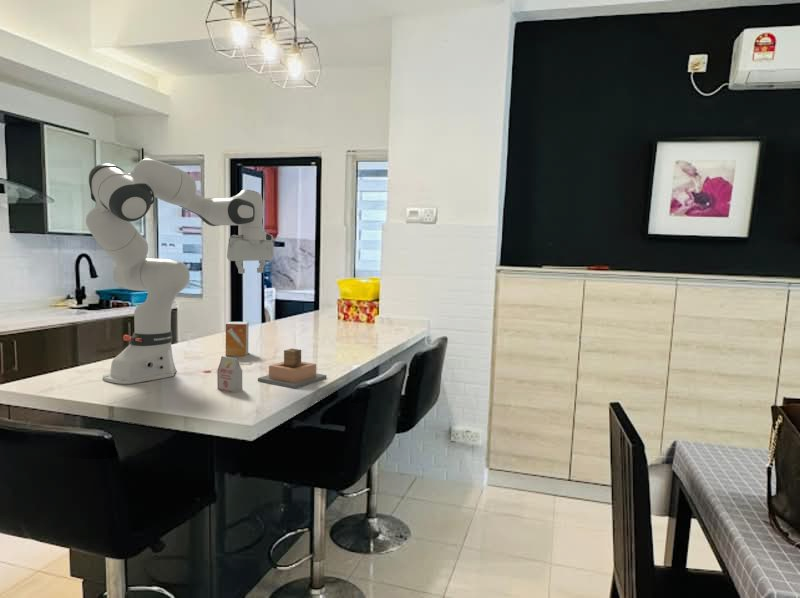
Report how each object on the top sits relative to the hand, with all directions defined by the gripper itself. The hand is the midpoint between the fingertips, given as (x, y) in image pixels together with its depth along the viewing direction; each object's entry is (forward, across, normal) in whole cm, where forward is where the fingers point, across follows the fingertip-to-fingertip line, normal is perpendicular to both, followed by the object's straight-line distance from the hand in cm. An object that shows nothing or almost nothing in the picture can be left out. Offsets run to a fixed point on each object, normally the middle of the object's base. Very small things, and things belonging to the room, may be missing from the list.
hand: (250, 273), depth 193 cm
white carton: (+34, -30, -21) cm, 50 cm away
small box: (+34, +8, +16) cm, 38 cm away
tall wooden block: (+33, -10, -29) cm, 45 cm away
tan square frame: (+34, -10, -29) cm, 45 cm away
